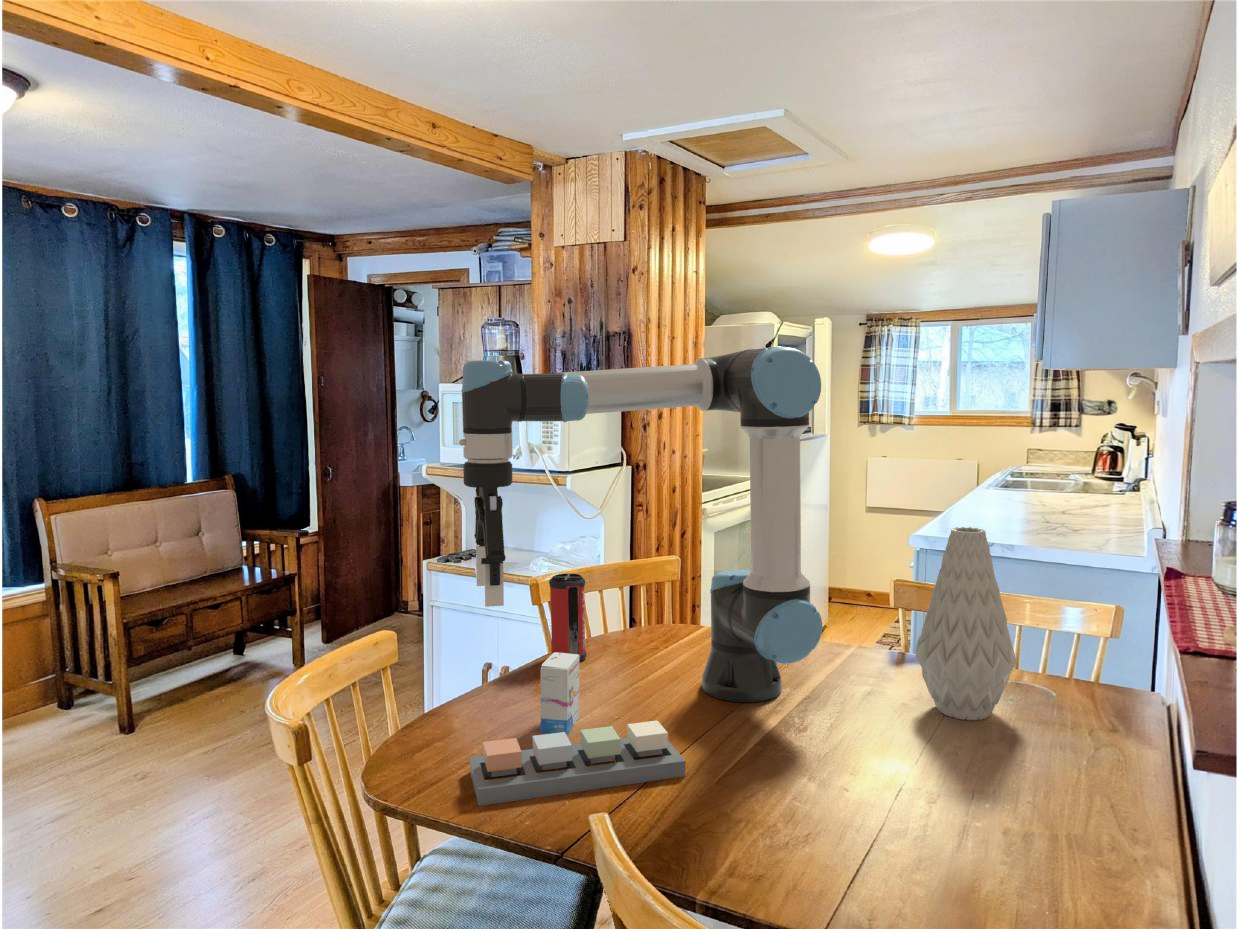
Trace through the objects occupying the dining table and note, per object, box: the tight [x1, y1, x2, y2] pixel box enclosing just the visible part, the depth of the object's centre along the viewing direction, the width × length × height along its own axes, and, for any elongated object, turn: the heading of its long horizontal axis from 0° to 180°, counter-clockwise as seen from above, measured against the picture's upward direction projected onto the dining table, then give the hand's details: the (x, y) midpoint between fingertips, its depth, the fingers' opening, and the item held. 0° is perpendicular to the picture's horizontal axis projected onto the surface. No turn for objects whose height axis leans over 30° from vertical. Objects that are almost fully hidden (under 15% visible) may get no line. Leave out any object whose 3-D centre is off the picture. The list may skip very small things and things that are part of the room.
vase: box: [914, 526, 1018, 721], centre depth 152 cm, size 17×17×33 cm
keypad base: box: [469, 736, 686, 807], centre depth 131 cm, size 31×11×2 cm, turn 106°
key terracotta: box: [482, 737, 522, 778], centre depth 127 cm, size 5×5×4 cm
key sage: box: [580, 725, 621, 764], centre depth 131 cm, size 5×5×4 cm
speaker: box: [548, 572, 587, 662], centre depth 184 cm, size 8×8×18 cm
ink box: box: [540, 652, 580, 736], centre depth 149 cm, size 9×5×12 cm, turn 168°
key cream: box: [626, 720, 669, 758], centre depth 133 cm, size 5×5×4 cm
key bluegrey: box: [532, 732, 573, 771], centre depth 129 cm, size 5×5×4 cm
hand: (489, 595), depth 135 cm, fingers open, 13 cm apart
